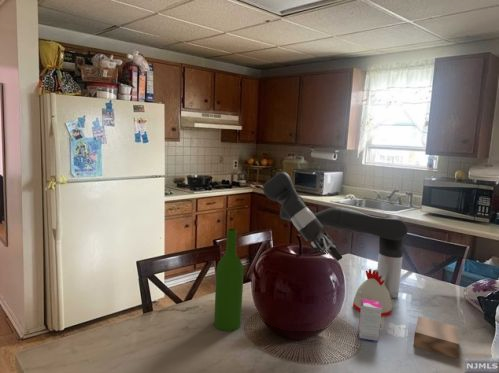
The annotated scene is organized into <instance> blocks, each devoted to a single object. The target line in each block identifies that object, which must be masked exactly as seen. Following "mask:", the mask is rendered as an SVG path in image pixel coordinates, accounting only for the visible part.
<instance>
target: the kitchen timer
mask: <svg viewBox="0 0 499 373" xmlns="http://www.w3.org/2000/svg"><path fill="white" fill-rule="evenodd" d="M375 270H376V269H374V270H372V269H371V268H369V269H368V270H366V271H365V275H366V280H365V281H362V283H361V284H360V285H359V287H358V288H357V289H356V290H357V291H356V293H355V295H354V298H353V302H352V303H353V304H352V306H353V309H355V310H356V311H357V312H359V313H360V311H361V302H362V299H366V300H372V301H379V302H380V305H381V308H382V312H381V318H384V317H389V316H391V314H392V307H393V306H392V305H393V304H392V298H390V294H389V291H388V290H387V288H386V286H385V285H384V284H383V283H384V281H385V280H383V281H382V282H381V277H382V276H379V272H378V271H377V272H376V274H375Z"/></svg>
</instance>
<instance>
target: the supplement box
mask: <svg viewBox="0 0 499 373" xmlns="http://www.w3.org/2000/svg"><path fill="white" fill-rule="evenodd" d="M381 312H382V308H381V305H380V302H379V301H372V300H366V299H362V302H361V311H360V312H359V313H360V314H359V321H358V330H357V333H358V334H357V335H358V338H359V340H360V341H367V342H372V343H373V342H374V343H378V341H379V335H380V329H381V328H380V326H381V320H382V317H381Z"/></svg>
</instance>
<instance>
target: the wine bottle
mask: <svg viewBox="0 0 499 373" xmlns="http://www.w3.org/2000/svg"><path fill="white" fill-rule="evenodd" d="M226 231H227V233H226V246H225V247H226V248H225V253H224V254H223V256H222V257H221V258H220V260H219V261H218V263H217V265H216V270H215V272H216V273H215V274H216V275H215V294H214V295H215V297H214V298H215V299H214V319H213V320H214V321H213V322H214V326H215V328H217V329H218V330H220V331H224V332H232V331H237V330H238V329H239V328H240V327H241V325H242V308H243V293H244V292H243V289H244V288H243V287H244V269H245V268H244V264H243V263H242V261H241V260H240V258H239V256H238V254H237V249H236V248H237V229H236V228H227V230H226Z"/></svg>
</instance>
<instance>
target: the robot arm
mask: <svg viewBox="0 0 499 373" xmlns="http://www.w3.org/2000/svg"><path fill="white" fill-rule="evenodd" d="M262 191H263V193H264V195H265V197H267V199H269V200H271V201H274V202H277V203H279V204H280V205H281V207H280V211H279V217H280V219H282V220H285V221H288V222H292V224H293V226H294V227H295V228H296V230H297V231H298V232H299V234H301V236H302V237H303V238H304V239H303V240H305V241H306V242H308V241H309V240H311V242H310V243H309V244H308V245H309V247H310V248H311V250H312V251H313V250H314V251H319V250H320V251H321V252H322V253H323V254H326V253H327V254H328V253H329V252H330V254H331V255H332V256H333V257H334V259H335V260H336V261H340V260H341V259H342V258H343V255H342V254H341V253H340V251H339V250H338V249H337V243H336V242H335V241H334V240H333V239H332V237H331V236H330V234H328V232H327V231H324V232H322V231H323V230H324V228H325V227H327V228H330V229H331V228H332V229H336V230H342V231H347V232H354V233H361V234H368V235H372V236H377V237H378V238H379V240H378V247H379V249H378V257H377V258H378V259H377V268H376V269H374V270H375V274H376V272H377V271H378V272H379V276H382V277H381V282H382V281H383V280H385V281H384V283H383V284H384V285H385V286H386V288H387V290H388V291H389V294H390V298H391V299H396V298H398V297H399V294H400V293H399V292H400V284H401V276H402V267H403V266H402V265H403V256H404V246H403V239H404V238H405V237H406V236H407V235H408V232H409V230H408V226H407V224H406V222H405V221H404V220H403V219H402V218H401V217H400V216H398V215H395V214H389V215H386V216H385V217H379V216H373V215H369V214H366V213H363V212H361V211H358V210H355V209H351V208H347V207H342V206H341V207H340V206H332V207H328V208H326V209H324V210H321V211H318V212H315V213H314V212H313V211H311V210H310V209H309V207H307V205H306V204H305V201H304V198H303V197H302V196H301V195H299V194H298V192H297V190H296V188H295V185H294V182H293V180H292V178H291V176H290V175H289V173H287V172H285V171H280V172H277V173H276V174H275V175H274V176H272V177H271V178H270V179H269V180H267V181H266V182H265V183H264V184H263V186H262ZM314 251H313V252H314ZM324 251H325V252H326V253H325V252H324Z"/></svg>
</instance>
